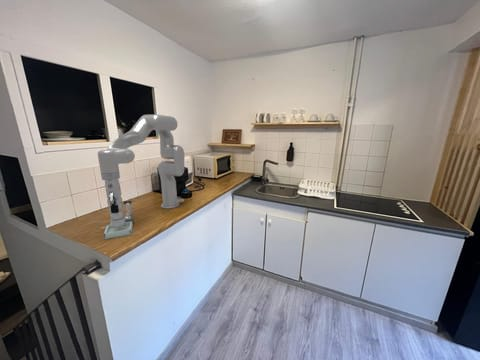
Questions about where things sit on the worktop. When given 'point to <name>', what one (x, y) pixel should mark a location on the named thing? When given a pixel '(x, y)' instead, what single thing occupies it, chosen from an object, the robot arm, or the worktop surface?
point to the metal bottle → (117, 215)
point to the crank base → (127, 221)
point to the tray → (118, 231)
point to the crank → (128, 209)
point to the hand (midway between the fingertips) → (116, 209)
